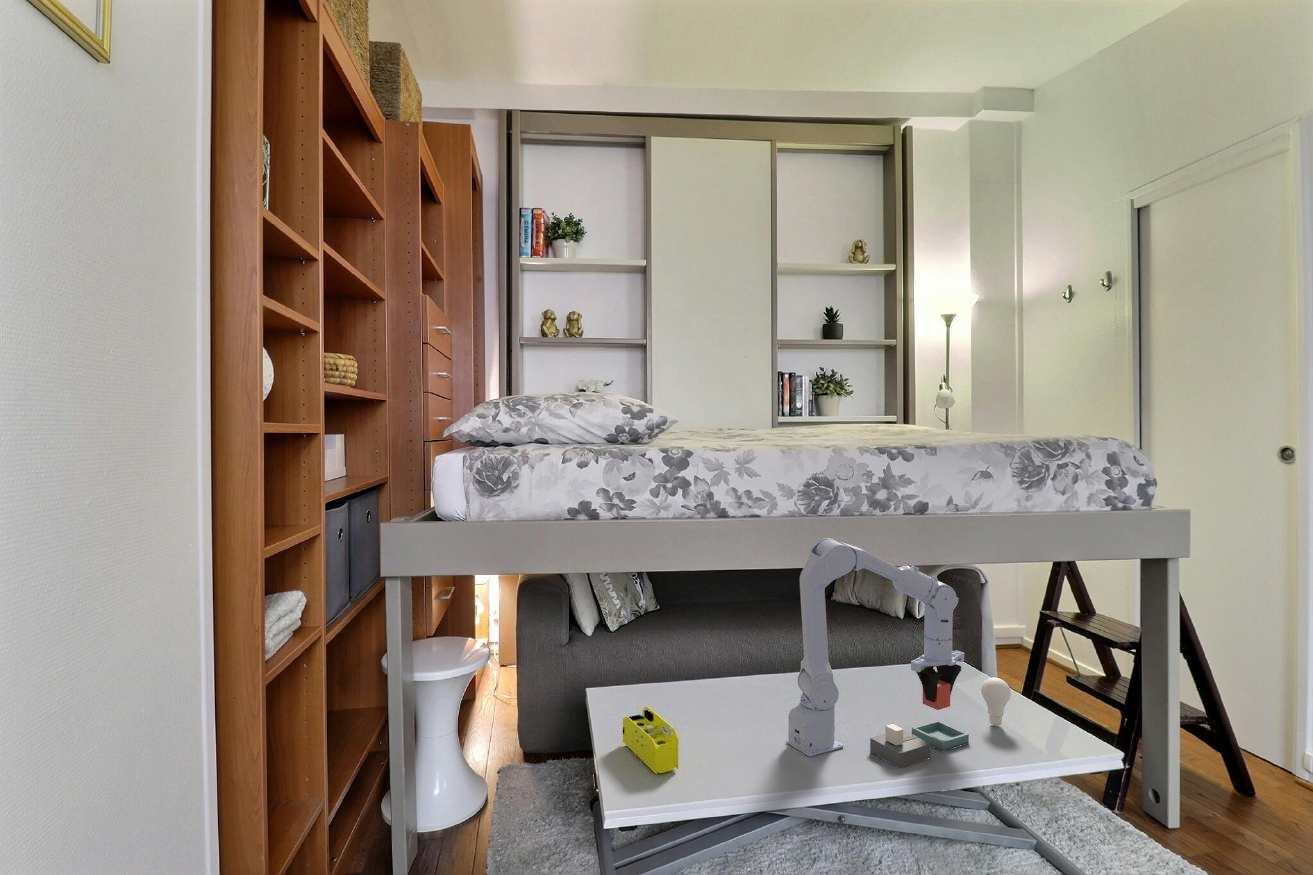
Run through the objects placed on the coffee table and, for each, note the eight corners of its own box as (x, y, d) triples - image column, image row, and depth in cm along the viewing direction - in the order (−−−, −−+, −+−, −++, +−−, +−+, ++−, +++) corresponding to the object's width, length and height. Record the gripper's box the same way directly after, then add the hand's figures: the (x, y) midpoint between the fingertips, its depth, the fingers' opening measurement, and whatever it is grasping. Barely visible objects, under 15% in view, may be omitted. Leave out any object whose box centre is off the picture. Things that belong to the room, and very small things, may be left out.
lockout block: (937, 709, 156) (937, 686, 156) (922, 703, 159) (922, 681, 159) (950, 706, 158) (950, 683, 157) (935, 700, 161) (935, 677, 161)
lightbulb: (979, 728, 163) (980, 680, 163) (981, 718, 169) (982, 671, 169) (1009, 733, 161) (1010, 684, 160) (1010, 723, 166) (1011, 676, 166)
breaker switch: (896, 745, 148) (896, 731, 148) (885, 739, 151) (885, 725, 151) (903, 743, 149) (903, 729, 149) (892, 737, 152) (892, 723, 151)
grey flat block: (899, 768, 145) (899, 752, 145) (870, 751, 152) (870, 737, 152) (930, 758, 149) (931, 743, 149) (901, 742, 156) (901, 728, 156)
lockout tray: (942, 751, 152) (942, 742, 152) (911, 736, 159) (911, 727, 159) (968, 743, 156) (968, 734, 156) (937, 728, 163) (937, 720, 163)
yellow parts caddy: (680, 772, 144) (680, 730, 144) (654, 778, 141) (654, 736, 141) (645, 740, 158) (645, 702, 158) (621, 745, 156) (621, 707, 155)
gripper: (929, 646, 151) (929, 711, 151) (976, 636, 158) (975, 698, 158) (903, 637, 157) (903, 699, 157) (949, 628, 164) (949, 687, 164)
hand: (937, 698), depth 158 cm, fingers closed on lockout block, 4 cm apart
